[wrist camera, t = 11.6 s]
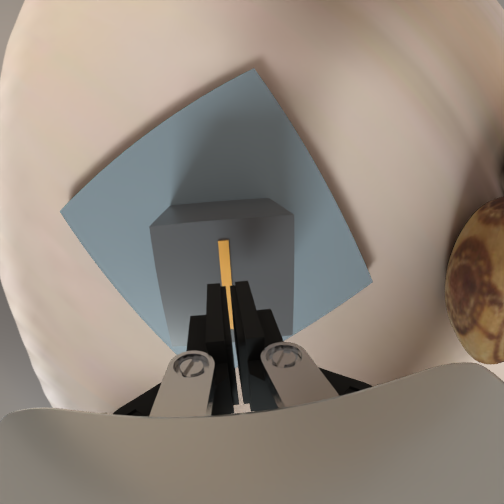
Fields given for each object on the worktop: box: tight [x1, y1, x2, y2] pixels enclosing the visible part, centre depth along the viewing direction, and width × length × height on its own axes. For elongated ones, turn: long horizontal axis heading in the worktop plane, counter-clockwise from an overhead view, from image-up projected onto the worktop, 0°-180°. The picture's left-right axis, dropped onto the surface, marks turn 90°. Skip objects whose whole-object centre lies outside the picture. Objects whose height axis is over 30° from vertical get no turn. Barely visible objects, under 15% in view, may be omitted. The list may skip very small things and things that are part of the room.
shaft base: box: [60, 68, 373, 368], centre depth 19 cm, size 20×18×6 cm
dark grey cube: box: [149, 198, 294, 347], centre depth 17 cm, size 7×7×7 cm
